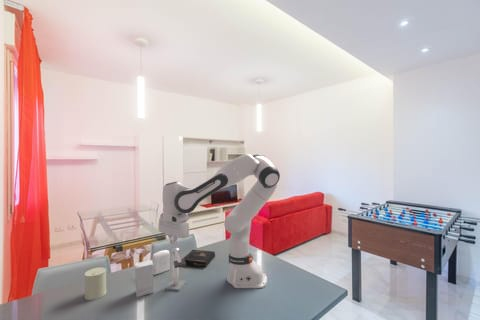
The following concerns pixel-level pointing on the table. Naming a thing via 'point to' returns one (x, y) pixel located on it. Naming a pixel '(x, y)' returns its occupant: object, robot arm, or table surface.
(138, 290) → the skincare box
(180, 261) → the swing arm
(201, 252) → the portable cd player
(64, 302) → the table surface
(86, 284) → the can
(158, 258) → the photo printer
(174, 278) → the post
